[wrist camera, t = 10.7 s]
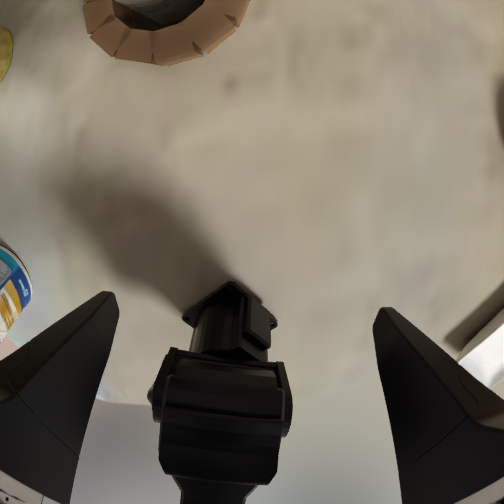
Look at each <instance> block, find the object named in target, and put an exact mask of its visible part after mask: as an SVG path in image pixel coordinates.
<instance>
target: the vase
mask: <svg viewBox="0 0 504 504" xmlns="http://www.w3.org/2000/svg"><path fill="white" fill-rule="evenodd" d="M12 50H13V42H12V38H11V35H10V33H9V31H7V30H6V29H4V28H0V82H1V80H2V79H3V77H4V76H5V74H6V72H7V70H8V67H9V64H10V61H11V57H12Z"/></svg>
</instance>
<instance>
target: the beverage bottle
mask: <svg viewBox="0 0 504 504" xmlns="http://www.w3.org/2000/svg"><path fill="white" fill-rule="evenodd" d="M31 297H32V284H31V281H30V278H29V275H28V273H27V271H26V269H25V268H24V266H23V265H22V263H21V262H20V261H19V259H18V258H17V257H16V256H15V255H14V254H13V253H12V252H10V251H9V250H8V249H6V248H4V247H2V246H0V343H1V341H2V339H3V338H4V336H5V335H6V333H7V332H8V330H9V329H10V327H11V326H12V324H13V323H14V321H15V320H16V318H17V317H18V316H19V314H20V313H21V311H22V310H23V308H25V306H26V305H27V304H28V303H29V301H30V300H31Z"/></svg>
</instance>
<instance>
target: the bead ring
mask: <svg viewBox="0 0 504 504" xmlns="http://www.w3.org/2000/svg"><path fill="white" fill-rule="evenodd" d="M84 1H85V2H88V3H87V4H85V5H84V6H83V9H84V15H85V22H86V28H87V33H88V34H92V35H91V36H90V38H91V39H92V40H93V41H94V42H95V43H96V44H97V45H99V46H100V47H101V48H102V49H103V50H104V51H105V52H106V53H107V54H108V55H110V56H111V57H115V59H123V60H131V61H137V62H144V63H150V64H156V65H162V66H165V65H169V66H170V65H173V64H177V63H180V62H183V61H187V60H190V59H194V58H198V57H202V56H203V52H202V50H204V51H205V52H207V53H210V52H211V51H212V50H213V49H214V48H215V47H217V46H218V45H219V44H220V43H221V42H223V41H224V40H225V39H226V38H228V37H229V36H230V35H232V34H233V33H234V32H235V29H234V26H236V27H239V25H240V23H241V21H242V18H243V16H244V13H245V11H246V9H247V6H248V4H249V2H250V0H205V1H204V3H203V5H202V6H200V7H199V8H198V9H197V10H195V11H194V12H193V13H192V14H191V15H189V16H188V17H187V18H186V19H185V20H184V21H182V22H181V23H178V24H175V25H172V26H169V27H166V28H163V29H160V30H157V31H147V30H141V29H139V28H138V27H137V26H136V25H135V24H134V23H133V20H132V15H131V10H130V8H129V7H127V6H125V5H123V4H121V3H119V2H116V1H114V0H84Z"/></svg>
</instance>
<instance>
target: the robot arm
mask: <svg viewBox="0 0 504 504" xmlns="http://www.w3.org/2000/svg"><path fill="white" fill-rule="evenodd" d="M228 287H232V289H230V288H228ZM187 317H189V318H187ZM118 319H119V308H118V304H117V301H116V297H115V294H114V293H113V292H109V291H102V292H100V293H99V294H97V295H96V296H94V297H92V298H91V299H89V300H88V301H86V302H85V303H83V304H82V305H81V306H79V307H78V308H76V309H75V310H73V311H72V312H70V313H69V314H67V315H66V316H64V317H63V318H61V319H60V320H59V321H57V322H56V323H54V324H53V325H51V326H50V327H48V328H47V329H46V330H44V331H43V332H41V333H40V334H39V335H37V336H36V337H34V338H33V339H32V340H30V342H27V343H26V344H25V345H23V346H22V347H20V348H19V349H17V350H16V351H15V352H13V353H12V354H10V355H9V356H7V357H6V358H4V359H3V360H1V361H0V504H42V501H43V497H44V496H45V497H47V498H49V499H52V500H54V501H56V502H58V503H60V504H69V503H70V498H71V492H72V488H73V483H74V477H75V473H76V469H77V464H78V460H79V454H80V451H81V447H82V443H83V439H84V435H85V431H86V428H87V424H88V421H89V417H90V414H91V410H92V407H93V404H94V400H95V397H96V394H97V391H98V387H99V384H100V381H101V378H102V375H103V372H104V369H105V366H106V363H107V361H108V358H109V354H110V351H111V347H112V343H113V339H114V334H115V330H116V326H117V323H118ZM182 320H183V321H184V322H186V323H187V324H188V325H190V326H191V327H192V328H194V330H193V335H192V339H191V344H190V349H189V351H185V350H179V349H178V348H174V347H170V350H169V352H168V354H166V356H165V358H164V360H163V363H162V365H161V368H160V370H159V373H158V375H157V378H156V380H155V382H154V384H153V385H152V387H151V388H150V390H149V391H148V395H147V399H148V400H149V402H150V403H151V405H152V411H153V419H154V422H158V423H160V435H159V448H158V449H159V462H160V464H161V466H162V469H163V471H164V472H165V474H168V475H172V477H173V479H174V480H175V482H176V484H177V485H178V487H179V489H180V490H181V499H180V504H245V501H246V498H247V497H248V496H249V495H250V494H251V492H253V491H254V489H255V488H256V487H257V486H258V485H268V484H269V483H270V482H271V480H272V479H273V477H274V476H275V474H276V473H277V467H278V454H279V448H280V442H281V437H285V436H287V433H288V432H289V429H290V425H291V420H292V410H293V409H292V408H293V403H292V394H291V390H290V386H289V382H288V378H287V374H286V370H285V366H284V362H278V361H276V362H268V352H267V349H269V348H270V347H271V330H272V329H274V328H276V327H277V320H276V319H275V318H274V317H273V316H272V315H271V314H270V312H269V311H268V310H267V309H266V308H264V307H263V306H262V305H261V304H260V303H259V302H258V301H257V300H255V299H254V298H253V297H252V296H249V295H248V294H247V293H245V292H244V291H243V290H242V289H241V288H240V287H239V286H238V285H236V284H235V283H234V282H227V283H225V284H224V285H223V286H221V287H220V288H218V289H217V290H215V291H214V292H213V293H211V294H210V295H208V296H207V297H206V298H204V299H203V300H201V301H200V302H198V303H197V304H196V305H194V306H193V307H191V308H190V309H189V310H187V311H186V312H184V313H183V316H182ZM270 323H273V324H270ZM373 337H374V343H375V350H376V358H377V365H378V370H379V375H380V379H381V383H382V387H383V392H384V396H385V401H386V405H387V410H388V415H389V420H390V425H391V431H392V436H393V441H394V447H395V453H396V459H397V466H398V471H399V473H398V474H399V481H400V489H401V498H402V504H504V400H503V399H502V398H501V397H499V396H498V395H497V394H495V393H494V392H493V391H492V390H490V389H489V388H488V387H486V386H485V385H484V384H482V383H481V382H480V381H479V380H477V379H476V378H475V377H474V376H473V375H471V374H470V373H469V372H468V371H467V370H466V369H464V368H463V367H462V366H461V365H459V364H458V362H456V361H455V360H454V359H453V358H452V357H451V356H450V355H448V354H447V353H446V352H445V351H444V350H443V349H441V348H440V347H439V346H438V345H437V344H436V343H434V342H433V341H432V340H431V339H430V338H429V337H427V336H426V335H425V334H424V333H423V332H421V331H420V330H419V329H418V328H417V327H415V326H414V325H413V324H412V323H411V322H409V321H408V320H407V319H406V318H405V317H403V316H402V315H401V314H400V313H398V312H397V311H396V310H395V309H394V308H392V307H382V308H380V310H379V312H378V314H377V316H376V319H375V321H374V324H373Z"/></svg>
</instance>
